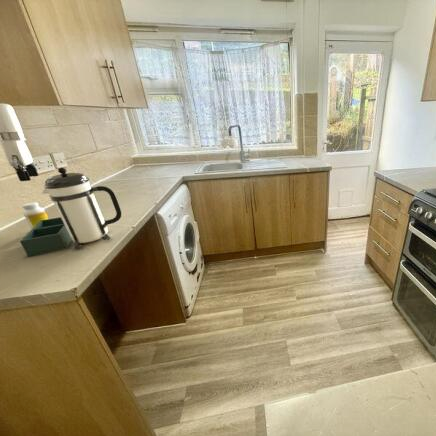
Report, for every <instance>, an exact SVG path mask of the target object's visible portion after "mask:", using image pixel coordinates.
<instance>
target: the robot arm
mask: <svg viewBox="0 0 436 436" xmlns="http://www.w3.org/2000/svg"><path fill="white" fill-rule="evenodd" d="M25 141H27V138H26V136H25V133H24V131H23V129H22V126H21V124H20V121H19V119H18V117H17V115H16V111H15V110H14V107H13V106H12V105H10V104H8V103H2V102H1V103H0V142H1V147H2V150H3V153H4V154H5V157H6V160H7V162H8V164H9V166H10V167H12V168H13V169H14V172H15V173H16V175H17V177H18V180H19V181H20V182H29V181H31V180H32V177H39V172H38V170H37V168H36V166H35V164H34V159H33V156H32V154H31V152H30V150H29V148H28V146H27V144H26V142H25Z"/></svg>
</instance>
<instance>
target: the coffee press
mask: <svg viewBox="0 0 436 436" xmlns="http://www.w3.org/2000/svg"><path fill="white" fill-rule="evenodd" d="M57 172H58V173H59V174H56V175H53V176H49V177H48V178H46V179H45V182H44V185H43V187H44V188H43V190H42V192H41V194H42V195H45V194H49V199H50V200H51V202H53V205H54V206H55V208H56V210H57V212H58V214H59V217H61V218H62V220H63V222H64V225H65V227H66V229H67V231H68V233H69V235H70V237H71V241H73V243H74V249H78V250H79V249H80V248H82V247H83V245H84V244H86V243H90V242H94V241H97V240H99V239H103V240H104V241H106V240H107V241H109V240H110V239H111V236H110V235H108V233H109V229H108V226H109V225H111V224H114V223H116V222H118V221H119V220H121V217H122V209H121V207H120V204H119V202H118V199H117V197H116V194H115V192H114V190H112V189H111V188H109V187H107V186H105V185H98V186H94V187H92V186H91V184H90V178H89V177H87V175H85V174H84V173H82V172H67V169H66V168H65V167H59V168H58V169H57ZM102 191H103V192H105V193H107V194H108V195H109V197H110V199H111V202H112V204H113V207H114V210H115V216H114V217H113V218H111V219H110V218H109V219H106V220H105V218H104V216H103V213H102V211H101V209H100V206H99V204H98V201H97V199H96V195H95V192H102Z"/></svg>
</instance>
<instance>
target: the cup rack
mask: <svg viewBox="0 0 436 436" xmlns="http://www.w3.org/2000/svg"><path fill="white" fill-rule="evenodd" d="M71 241H72V239H71V237H70V235H69V233H68V231H67V229H66V227H65V225H64V222H63V220H62V218H61V216H59V217H52V218H49V219H46V220H41V221H40V222H39V223H38V224H37V225H36V226H35V227H34V228H33V229H30V230H29V231H28V233H27V234H25V235H24V236H23V237H22V238H21V239H20V240H19V242H20V244H21V246H22V248H23V250H24V252H25V253H26V255H27V257H33V256H38V255H42V254H47V253H51V252H56V251H61V250H64V249H67V247H68V246H69V244H70V243H71Z"/></svg>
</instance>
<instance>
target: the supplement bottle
mask: <svg viewBox="0 0 436 436" xmlns="http://www.w3.org/2000/svg"><path fill="white" fill-rule="evenodd" d="M22 208H23V209H24V211H23V212H22V214H23V216H24V218H25V219H26V221H27V223H28V225H29V227H30V230H32V229H33V228H34V227H35V226H36V225H37V224H38V223H39V222H40V221H41V220H46V219H50V218H49V215H48V214H47V212H46V210H45V208H44V207H42V206H41V207H40V206H39V203H38V202H37V201H33V202H28V203H24V204H22Z"/></svg>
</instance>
